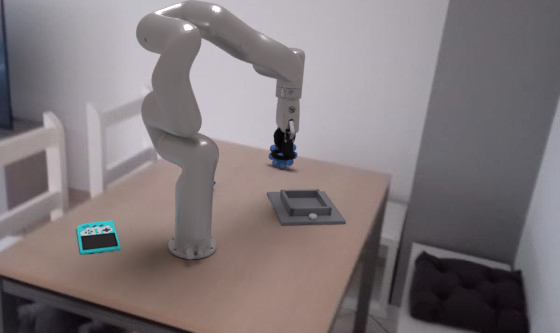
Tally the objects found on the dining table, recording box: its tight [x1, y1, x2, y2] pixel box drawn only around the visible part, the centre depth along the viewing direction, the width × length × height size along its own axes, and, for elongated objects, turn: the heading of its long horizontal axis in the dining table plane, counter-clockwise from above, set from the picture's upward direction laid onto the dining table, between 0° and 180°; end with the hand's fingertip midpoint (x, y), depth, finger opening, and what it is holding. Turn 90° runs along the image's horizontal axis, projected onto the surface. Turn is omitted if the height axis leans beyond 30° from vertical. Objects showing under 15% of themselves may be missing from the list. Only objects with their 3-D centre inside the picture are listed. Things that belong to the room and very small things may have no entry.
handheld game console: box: [76, 220, 122, 256], centre depth 143 cm, size 10×16×1 cm, turn 23°
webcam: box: [270, 128, 297, 161], centre depth 161 cm, size 8×8×10 cm
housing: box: [266, 188, 347, 226], centre depth 171 cm, size 22×20×4 cm
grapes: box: [268, 144, 298, 170], centre depth 201 cm, size 12×7×12 cm, turn 64°
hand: (283, 149), depth 162 cm, fingers closed on webcam, 6 cm apart
